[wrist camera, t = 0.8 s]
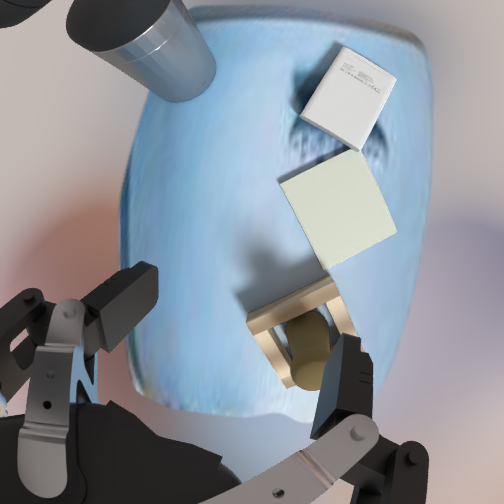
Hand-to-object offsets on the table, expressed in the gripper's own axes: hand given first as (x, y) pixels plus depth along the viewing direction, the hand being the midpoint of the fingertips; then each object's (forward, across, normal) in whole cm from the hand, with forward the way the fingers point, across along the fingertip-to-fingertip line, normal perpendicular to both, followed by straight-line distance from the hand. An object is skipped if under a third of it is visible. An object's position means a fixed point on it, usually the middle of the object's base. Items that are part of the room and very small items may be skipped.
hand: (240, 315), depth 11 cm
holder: (+22, -5, +18) cm, 29 cm away
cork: (+22, -5, +18) cm, 29 cm away
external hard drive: (+29, -2, -12) cm, 32 cm away
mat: (+26, -4, +2) cm, 26 cm away
